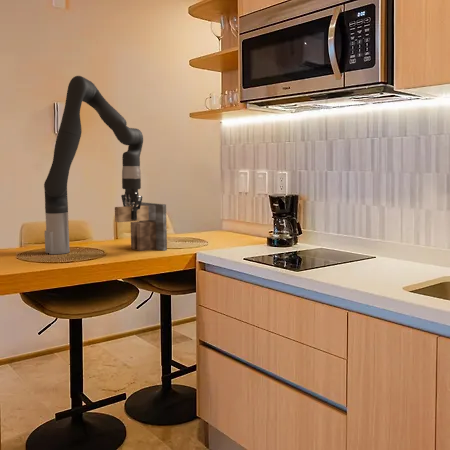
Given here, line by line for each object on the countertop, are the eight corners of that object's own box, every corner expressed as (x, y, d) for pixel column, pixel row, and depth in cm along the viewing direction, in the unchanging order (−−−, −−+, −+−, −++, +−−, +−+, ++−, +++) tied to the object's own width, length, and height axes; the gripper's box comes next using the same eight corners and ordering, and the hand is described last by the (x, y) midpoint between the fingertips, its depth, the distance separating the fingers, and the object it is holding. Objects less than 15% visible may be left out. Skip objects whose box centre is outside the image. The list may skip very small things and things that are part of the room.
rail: (118, 222, 217) (118, 207, 216) (114, 221, 219) (114, 206, 218) (156, 219, 228) (156, 205, 227) (153, 219, 230) (152, 205, 230)
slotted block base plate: (148, 252, 229) (146, 205, 226) (124, 247, 244) (123, 203, 242) (166, 250, 235) (166, 204, 232) (142, 245, 250) (141, 202, 248)
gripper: (114, 177, 223) (115, 218, 225) (131, 177, 213) (132, 221, 214) (130, 177, 228) (131, 217, 230) (148, 177, 217) (148, 220, 219)
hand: (131, 219), depth 222 cm, fingers closed on rail, 3 cm apart
